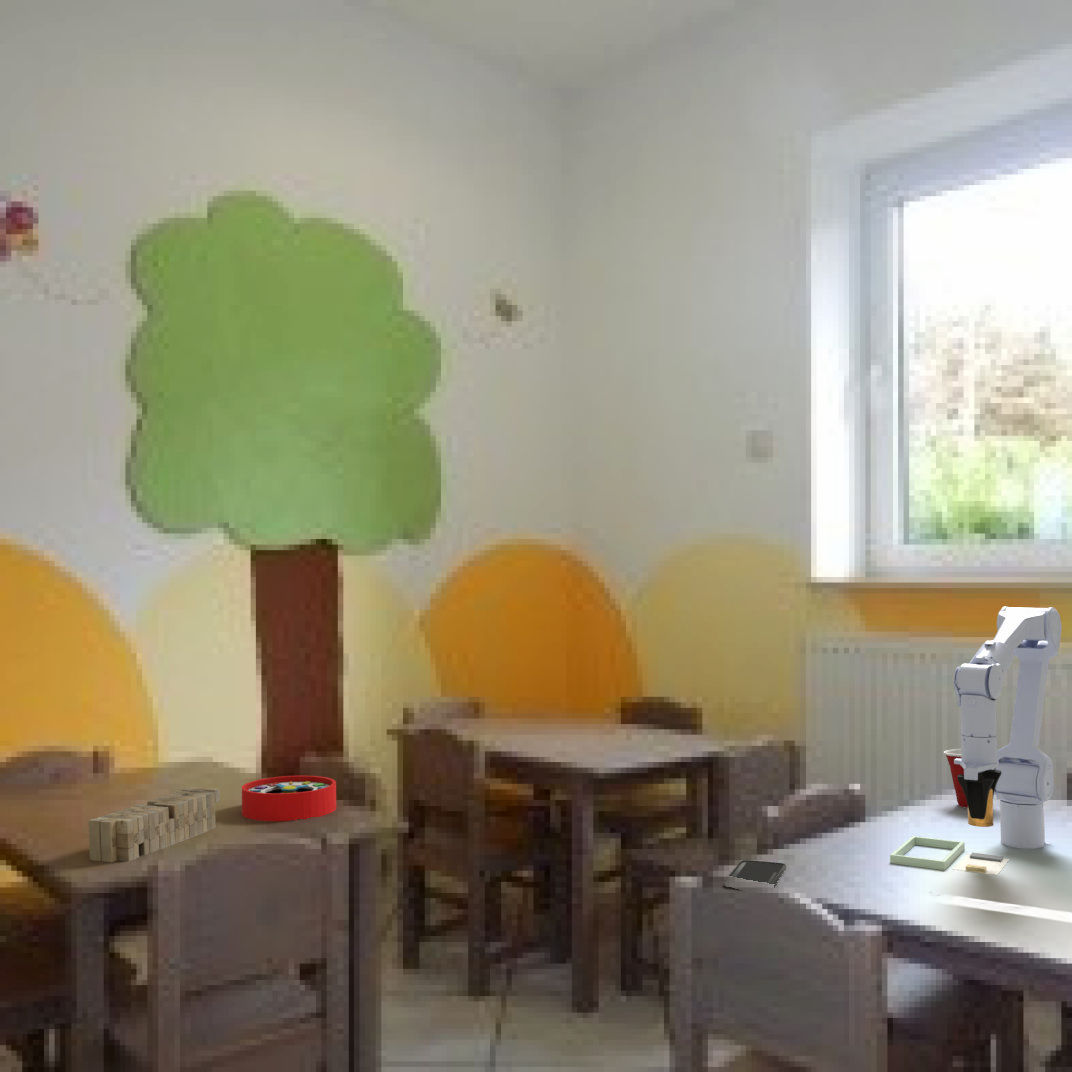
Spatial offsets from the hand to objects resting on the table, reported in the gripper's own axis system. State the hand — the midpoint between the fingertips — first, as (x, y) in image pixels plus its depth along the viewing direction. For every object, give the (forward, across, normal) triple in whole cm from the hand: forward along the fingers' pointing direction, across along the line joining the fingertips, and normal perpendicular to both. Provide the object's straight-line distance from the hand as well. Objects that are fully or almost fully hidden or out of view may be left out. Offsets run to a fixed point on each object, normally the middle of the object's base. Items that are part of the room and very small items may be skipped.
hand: (980, 815), depth 191 cm
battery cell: (+1, 0, 0) cm, 1 cm away
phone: (+10, +22, -32) cm, 40 cm away
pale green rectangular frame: (+9, -1, -9) cm, 13 cm away
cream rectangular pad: (+9, 0, 0) cm, 9 cm away
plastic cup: (+10, -51, -12) cm, 53 cm away
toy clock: (+10, +24, -138) cm, 140 cm away
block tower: (+10, +57, -140) cm, 151 cm away
